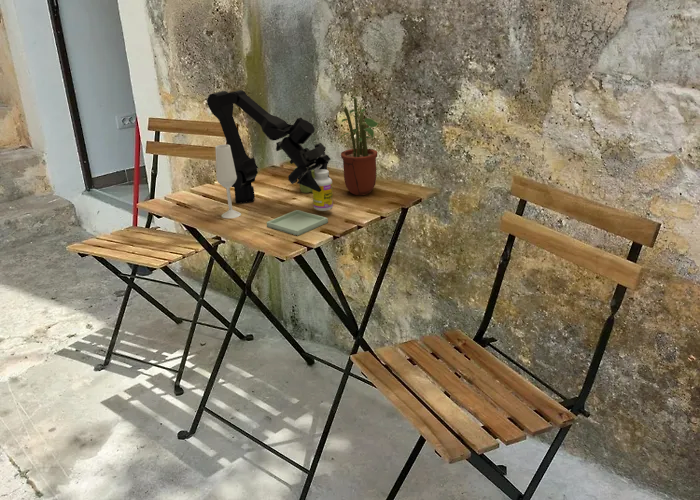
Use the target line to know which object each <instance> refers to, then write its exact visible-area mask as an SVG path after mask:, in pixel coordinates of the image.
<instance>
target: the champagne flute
mask: <svg viewBox="0 0 700 500" xmlns="http://www.w3.org/2000/svg"><path fill="white" fill-rule="evenodd" d="M214 149H215V170H216V172H215V173H216V174H215V176H216V182H217V183H218V184H219V185H220V186H222V187H223V188H225V189H226V197H227V204H228V205H227V207H228V210H227V211H226V212H224V213H222V214H221V218H223V219H237V218H238V217H240V216H241V215H242V213H241V212H239V211H237V210H235V209H233V205H232V195H231V194H232V193H231V188H233V187H232V185H233V184H234V183H235V182H236V179H237V176H236V171H235V166H234V162H233V157H232V152H231V148H230V145H228V144H218V145H215V148H214Z"/></svg>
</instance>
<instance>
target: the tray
mask: <svg viewBox="0 0 700 500" xmlns="http://www.w3.org/2000/svg"><path fill="white" fill-rule="evenodd" d="M327 223H329V219H328V217H325V216H322V215H318V214H314V213H310V212H306V211H303V210H300V209H295V210H293V211H290V212H288V213H285V214H283V215H281V216H278V217H276V218H274V219H270V220H268V221H266V227H267V228H269V229H271V230H272V229H274V230H277V231H278V232H279V231H280V232H282V231H283V232H282V233H286V234H290V235H292V234H293V236H296V235H297V237H299V236H301V235H303V234H306V233H309V232H310V231H313V230H315V229H317V228H319V227H321V226H323V225H326V224H327ZM298 235H299V236H298Z"/></svg>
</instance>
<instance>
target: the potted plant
mask: <svg viewBox="0 0 700 500" xmlns="http://www.w3.org/2000/svg"><path fill="white" fill-rule="evenodd" d="M352 99H353V108H354V109H351V110H350V111H349V110H348V107H347V106H346V104H345V105H344V108H343V112H344V114H345V117H346V118H343V119H341V123H343V122H346V121H347V124H348V128H349V132H345V133H344V134H343V135H342V136H340V137H338V140H340V139H341V138H342V137H343V136H346V135H349V134H350V137H351V143H352V144H351V145H352V148H351V149H347V150H343V151H342V152H341V153H340V157H341V159H342V162H343V163H342V164H343V165H342V166H343V179H344V184H345V187H346V189H347V190H348V192H350V194H353V195H355V196H365V195H368V194H369V193H371V192H372V191H373V190H374V188H375V186H376V181H377V157H378V151H377V150H376V149H372V148H368V141H367V139H371V140H374V135H375V131H374V130H373V129H372V128H375V127H377V126H378V125H379V123H378V122H377V121H376V120H374V119H373V118H371V117H370V118H369V117H368V118H367V117H365V118H364V112H365V111H366V108H362V109H361V110H360V111H359V112H360V114H358V101H357V97H356V96H354V97H351V98H350V99H348V100H347V101H346V103H347V102H348V101H350V100H352ZM352 113H354V116H352V118H354V128H353V125H352V120H351V116H350V115H351V114H352ZM366 125H367V126H368V127H366ZM367 133H368V134H369V136H367ZM334 145H337V143H335V144H334Z"/></svg>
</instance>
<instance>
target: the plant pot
mask: <svg viewBox="0 0 700 500" xmlns="http://www.w3.org/2000/svg"><path fill="white" fill-rule="evenodd" d="M295 168H297V166H296V167H295ZM311 172H312V177H313V179H314V178H315V177H316V176H315V175H314V174H315V171H314V170H311ZM298 181H299V180H298V179H297V182H298ZM298 185H299V190H300V192H301V193H304V194H308V193H313V189H311V188H309V187H307V186H304V185H301V184H298Z"/></svg>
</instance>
